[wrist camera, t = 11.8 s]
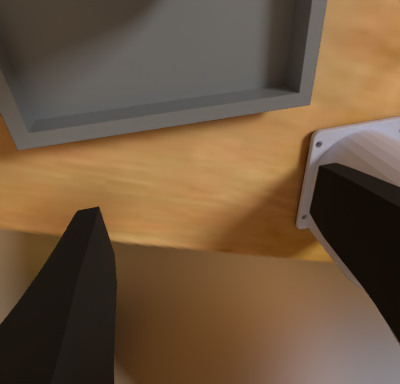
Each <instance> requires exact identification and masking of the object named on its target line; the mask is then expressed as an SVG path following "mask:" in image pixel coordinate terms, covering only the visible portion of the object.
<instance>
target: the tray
mask: <svg viewBox="0 0 400 384" xmlns="http://www.w3.org/2000/svg"><path fill="white" fill-rule="evenodd" d="M326 5H327V0H0V113H1V116H2V118H3V120H4V122H5V124H6V126H7V128H8V130H9V132H10V134H11V137H12V139H13V141H14V143H15V145H16V147H17V149H18V150H24V149H31V148H37V147H43V146H50V145H56V144H63V143H69V142H76V141H82V140H88V139H95V138H101V137H108V136H114V135H120V134H127V133H133V132H140V131H146V130H152V129H159V128H165V127H172V126H178V125H185V124H191V123H197V122H204V121H210V120H217V119H223V118H229V117H236V116H242V115H249V114H255V113H261V112H268V111H274V110H281V109H287V108H293V107H300V106H306V105H310V102H311V96H312V90H313V84H314V78H315V72H316V66H317V60H318V54H319V47H320V41H321V35H322V29H323V23H324V17H325V11H326Z"/></svg>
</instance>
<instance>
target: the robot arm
mask: <svg viewBox="0 0 400 384" xmlns="http://www.w3.org/2000/svg"><path fill="white" fill-rule="evenodd" d="M317 142H319V143H318V144H317V145H316V143H317ZM303 215H304V216H303ZM296 226H297V228H298V229H305V228H309V230H310V231H311V232H312V234H313V235H314V236H315V237H316V239H317V240H318V241H319V243H320V244H321V245H322V246H323V248H324V249H325V250H326V251H327V253H328V254H329V255H330V257H331V258H332V259H333V260H334V262H335V263H336V264H337V266H338V267H339V268H340V269H341V270H342V272H343V273H344V274H345V276H346V277H347V278H348V279H349V280H351V281H352V282H353V283H354V284H356V285H357V286H358V287H360V288H362V289H364V290H365V291H366V292H367V293H368V295H369V296H370V298H371V299H372V300H373V302H374V303H375V305H376V306H377V308H378V309H379V311H380V313H381V314H382V316H383V317H384V319H385V320H386V322H387V324H388V325H389V327H390V329H391V331H392V333H393V335H394V337H395V338H396V340H397V342H398V343H399V345H400V116H397V117H392V118H386V119H380V120H374V121H368V122H362V123H357V124H351V125H345V126H339V127H333V128H327V129H321V130H317V131H315V132H314V133H313V134H312V137H311V142H310V147H309V153H308V158H307V164H306V169H305V175H304V181H303V186H302V192H301V197H300V203H299V209H298V214H297V220H296ZM116 292H117V280H116V266H115V254H114V251H113V248H112V245H111V242H110V239H109V236H108V233H107V230H106V226H105V223H104V220H103V217H102V214H101V211H100V208H99V207H94V208H89V209H84V210H78V211H77V212H76V214H75V215H74V217H73V219H72V220H71V222H70V224H69V225H68V227H67V229H66V231H65V232H64V234H63V236H62V237H61V239H60V241H59V242H58V244H57V246H56V247H55V249H54V250H53V252H52V253H51V255H50V257H49V258H48V260H47V262H46V263H45V264H44V266H43V268H42V269H41V271H40V272H39V273H38V275H37V276H36V278H35V279H34V281H33V282H32V283H31V285H30V286H29V287H28V289H27V290H26V292H25V293H24V295H23V296H22V297H21V299H20V300H19V301H18V303H17V304H16V305H15V307H14V308H13V309H12V310H11V312H10V313H9V314H8V316H7V317H6V318H5V320H4V321H3V322H2V323H1V324H0V384H114V340H115V316H116Z"/></svg>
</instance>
